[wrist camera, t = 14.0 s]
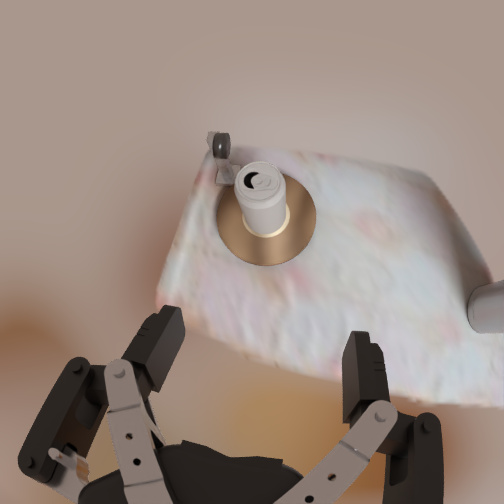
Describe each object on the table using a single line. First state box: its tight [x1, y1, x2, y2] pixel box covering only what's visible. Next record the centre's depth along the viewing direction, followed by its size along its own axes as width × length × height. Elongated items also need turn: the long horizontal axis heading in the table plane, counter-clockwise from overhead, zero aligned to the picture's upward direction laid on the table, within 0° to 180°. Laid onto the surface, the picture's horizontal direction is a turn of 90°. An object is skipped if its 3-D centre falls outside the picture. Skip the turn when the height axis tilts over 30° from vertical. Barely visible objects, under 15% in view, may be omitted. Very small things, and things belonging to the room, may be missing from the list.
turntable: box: [217, 174, 316, 266], centre depth 44 cm, size 16×16×1 cm
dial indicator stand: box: [207, 132, 241, 186], centre depth 43 cm, size 4×5×13 cm
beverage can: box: [234, 161, 286, 234], centre depth 38 cm, size 6×6×12 cm
